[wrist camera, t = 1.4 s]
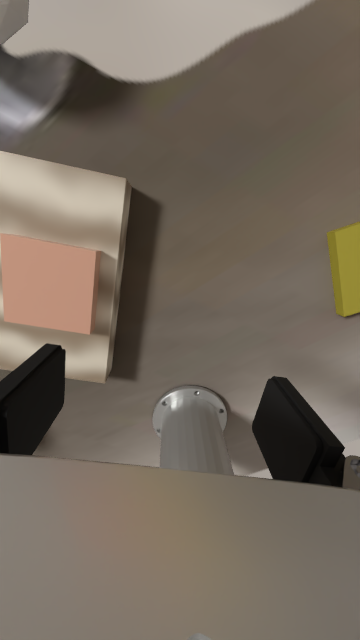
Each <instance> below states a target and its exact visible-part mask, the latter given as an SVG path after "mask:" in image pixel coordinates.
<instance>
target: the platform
mask: <svg viewBox="0 0 360 640" xmlns="http://www.w3.org/2000/svg"><path fill="white" fill-rule="evenodd" d="M131 190H132V186H131V185H130V183H129V182H128V181H127V179H126V178H121V177H117V176H112V175H108V174H103V173H99V172H94V171H89V170H85V169H80V168H76V167H71V166H67V165H62V164H58V163H53V162H48V161H44V160H39V159H35V158H30V157H26V156H21V155H17V154H12V153H7V152H3V151H0V233H6V234H16V235H21V236H26V237H32V238H37V239H42V240H48V241H53V242H58V243H63V244H69V245H74V246H79V247H85V248H90V249H95V250H100V251H101V259H100V271H99V284H98V296H97V308H96V321H95V329H94V331H93V332H92V333H91V334H90V335H88V334H82V333H76V332H69V331H63V330H56V329H50V328H43V327H37V326H31V325H24V324H18V323H11V322H5V321H4V308H3V286H2V264H1V242H0V369H5V370H12V371H13V370H15V369H16V368H17V367H18V366H19V365H21V364H22V363H23V362H24V361H25V360H27V359H28V358H29V357H30V356H32V355H33V354H34V353H35V352H36V351H38V350H39V349H40V348H41V347H42V346H44V345H45V344H46V343H49V344H56V345H61V346H62V349H65V351H66V361H65V378H70V379H77V380H85V381H92V382H99V383H105V382H106V380H107V378H108V376H109V373H110V371H111V369H112V361H113V352H114V343H115V334H116V325H117V316H118V307H119V298H120V289H121V280H122V271H123V262H124V253H125V244H126V235H127V226H128V217H129V208H130V199H131Z"/></svg>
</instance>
